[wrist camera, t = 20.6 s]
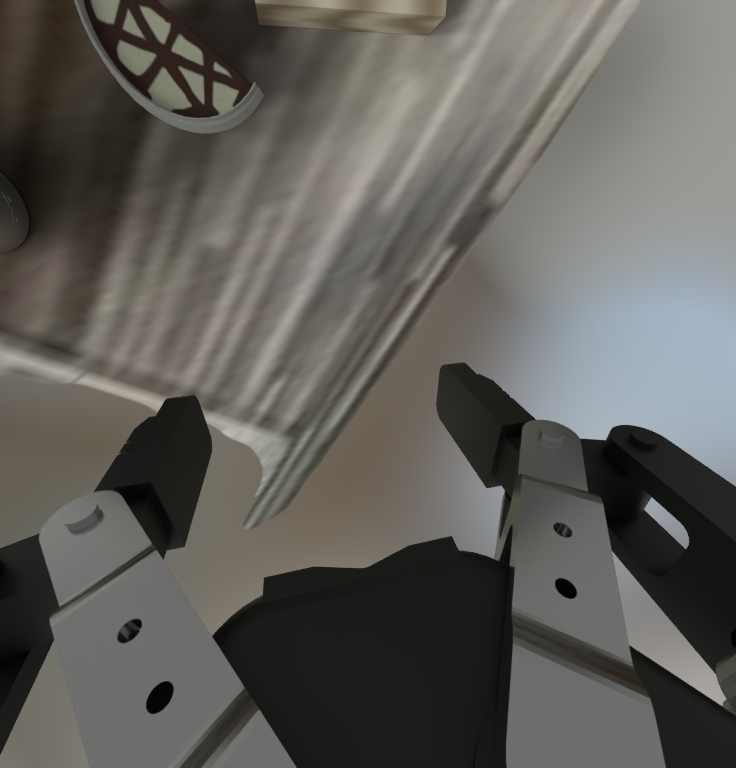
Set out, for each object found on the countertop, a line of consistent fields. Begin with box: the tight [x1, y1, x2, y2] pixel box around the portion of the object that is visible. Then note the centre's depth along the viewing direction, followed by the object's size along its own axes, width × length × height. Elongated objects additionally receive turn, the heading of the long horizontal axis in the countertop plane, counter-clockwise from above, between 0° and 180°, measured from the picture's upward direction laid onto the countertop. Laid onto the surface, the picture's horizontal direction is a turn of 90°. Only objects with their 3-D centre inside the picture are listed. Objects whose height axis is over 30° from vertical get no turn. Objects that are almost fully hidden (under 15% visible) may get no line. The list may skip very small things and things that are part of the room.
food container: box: [74, 0, 264, 134], centre depth 26 cm, size 12×6×10 cm, turn 53°
